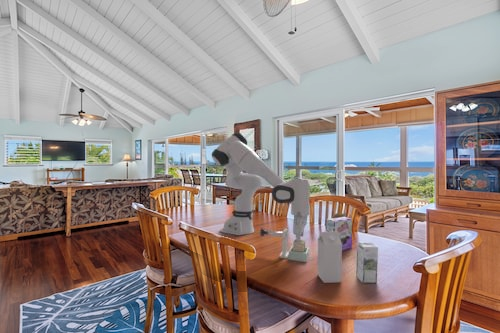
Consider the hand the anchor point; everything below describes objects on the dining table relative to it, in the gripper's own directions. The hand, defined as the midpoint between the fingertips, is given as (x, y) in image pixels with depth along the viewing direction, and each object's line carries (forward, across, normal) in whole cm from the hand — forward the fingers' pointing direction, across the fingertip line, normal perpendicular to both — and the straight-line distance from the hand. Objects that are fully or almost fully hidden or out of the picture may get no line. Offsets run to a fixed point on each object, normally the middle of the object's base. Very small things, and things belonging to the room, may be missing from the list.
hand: (300, 238), depth 125 cm
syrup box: (+9, -15, -28) cm, 34 cm away
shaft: (+1, 0, +13) cm, 13 cm away
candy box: (+10, +19, -18) cm, 28 cm away
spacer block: (+9, -1, 0) cm, 9 cm away
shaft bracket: (+9, -1, +3) cm, 10 cm away
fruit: (+10, +42, -18) cm, 47 cm away
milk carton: (+9, -19, -14) cm, 26 cm away
